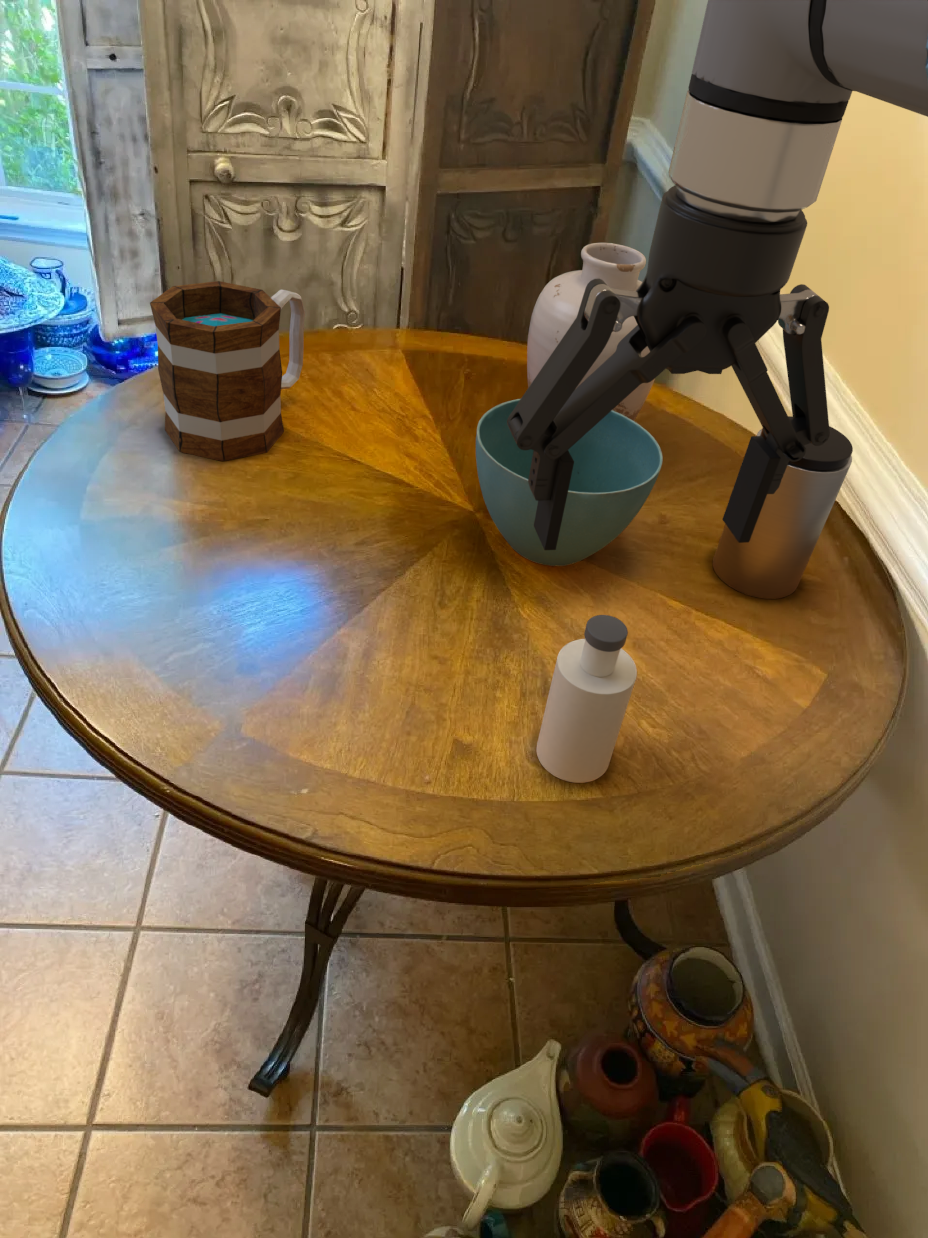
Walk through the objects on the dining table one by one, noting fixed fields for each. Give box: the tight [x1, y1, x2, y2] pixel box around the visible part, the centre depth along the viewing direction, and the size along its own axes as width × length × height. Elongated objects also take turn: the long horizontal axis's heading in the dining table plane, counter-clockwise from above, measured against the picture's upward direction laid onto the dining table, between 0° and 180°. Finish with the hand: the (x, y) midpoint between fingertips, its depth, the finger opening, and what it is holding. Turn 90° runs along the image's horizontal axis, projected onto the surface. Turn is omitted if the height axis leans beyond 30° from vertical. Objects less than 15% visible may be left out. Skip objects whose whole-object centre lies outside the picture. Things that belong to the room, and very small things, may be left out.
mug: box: [149, 280, 306, 462], centre depth 104 cm, size 20×14×15 cm
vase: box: [526, 242, 656, 421], centre depth 107 cm, size 16×16×23 cm
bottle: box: [535, 614, 638, 784], centre depth 70 cm, size 6×6×14 cm
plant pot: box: [475, 398, 664, 567], centre depth 93 cm, size 18×18×12 cm
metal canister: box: [712, 415, 854, 600], centre depth 91 cm, size 9×9×16 cm
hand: (642, 534), depth 61 cm, fingers open, 13 cm apart
